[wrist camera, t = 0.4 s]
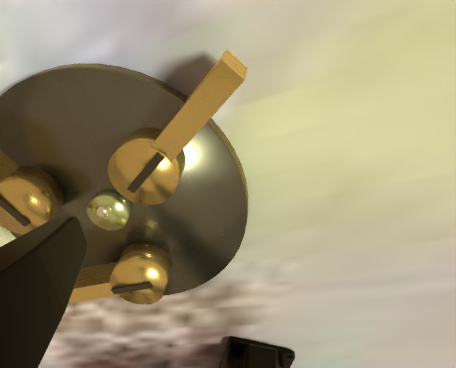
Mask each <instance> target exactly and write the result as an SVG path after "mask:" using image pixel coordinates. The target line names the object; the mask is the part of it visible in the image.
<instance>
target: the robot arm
mask: <svg viewBox="0 0 456 368" xmlns="http://www.w3.org/2000/svg"><path fill="white" fill-rule="evenodd" d="M87 247H88V245H87V240H86V238H85V235H84V232H83V229H82V227H81V224H80V221H79V219H78V218H77V217H75V216H57V217H55V218H53V219H52V220H50V221H48V222H46V223H44V224H42V225H40V226H39V227H37V228H35V229H33V230H31V231H29V232H27V233H26V234H24V235H22V236H20V237H18V238H16V239H15V240H13V241H11V242H9V243H7V244H5V245H3V246H2V247H0V368H38V366H39V364H40V362H41V360H42V358H43V356H44V354H45V352H46V350H47V348H48V346H49V344H50V341H51V339H52V337H53V335H54V333H55V331H56V329H57V327H58V325H59V323H60V321H61V319H62V317H63V314H64V312H65V310H66V307H67V305H68V302H69V300H70V297H71V294H72V292H73V289H74V286H75V283H76V281H77V278H78V275H79V272H80V270H81V267H82V264H83V261H84V259H85V256H86V253H87ZM294 359H295V352H294V351H292V350H288V349H284V348H279V347H274V346H269V345H265V344H260V343H255V342H251V341H246V340H241V339H237V338H229V339H228V342H227V345H226V348H225V351H224V355H223V358H222V361H221V364H220V368H290V366H291V364H292V362H293V360H294Z"/></svg>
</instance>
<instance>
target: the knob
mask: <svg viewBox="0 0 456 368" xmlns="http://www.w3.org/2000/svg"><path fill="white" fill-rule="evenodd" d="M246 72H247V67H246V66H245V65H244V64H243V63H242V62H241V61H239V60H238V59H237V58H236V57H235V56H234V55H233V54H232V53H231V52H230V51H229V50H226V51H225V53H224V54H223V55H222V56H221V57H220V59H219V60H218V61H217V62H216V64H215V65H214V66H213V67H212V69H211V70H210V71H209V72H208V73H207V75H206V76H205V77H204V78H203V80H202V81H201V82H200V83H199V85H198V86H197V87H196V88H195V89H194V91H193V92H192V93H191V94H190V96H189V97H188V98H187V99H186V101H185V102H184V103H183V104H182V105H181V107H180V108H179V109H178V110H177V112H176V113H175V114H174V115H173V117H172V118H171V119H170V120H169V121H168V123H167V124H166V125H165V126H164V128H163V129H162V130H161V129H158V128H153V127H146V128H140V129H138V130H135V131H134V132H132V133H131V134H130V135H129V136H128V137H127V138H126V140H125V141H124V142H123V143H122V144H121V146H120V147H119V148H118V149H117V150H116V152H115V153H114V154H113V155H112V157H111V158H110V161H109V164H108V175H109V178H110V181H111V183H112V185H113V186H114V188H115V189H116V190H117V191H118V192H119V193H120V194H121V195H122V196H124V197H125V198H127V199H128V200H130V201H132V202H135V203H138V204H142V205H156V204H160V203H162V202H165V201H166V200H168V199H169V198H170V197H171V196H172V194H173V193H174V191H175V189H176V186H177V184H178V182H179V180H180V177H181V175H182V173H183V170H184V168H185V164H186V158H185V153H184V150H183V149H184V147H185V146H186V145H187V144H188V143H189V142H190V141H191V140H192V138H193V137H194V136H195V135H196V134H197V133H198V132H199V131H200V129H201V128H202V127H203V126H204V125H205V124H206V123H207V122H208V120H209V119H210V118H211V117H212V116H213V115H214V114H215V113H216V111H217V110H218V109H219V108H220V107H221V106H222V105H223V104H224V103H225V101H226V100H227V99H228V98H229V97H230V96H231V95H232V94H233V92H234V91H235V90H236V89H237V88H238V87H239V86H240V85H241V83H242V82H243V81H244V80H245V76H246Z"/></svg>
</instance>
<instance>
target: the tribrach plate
mask: <svg viewBox="0 0 456 368" xmlns="http://www.w3.org/2000/svg"><path fill="white" fill-rule="evenodd" d="M186 99H187V97H186V96H184V95H183V94H182V93H180V92H179V91H177V90H175V89H174V88H172V87H170V86H168V85H166V84H165V83H163V82H161V81H159V80H157V79H154V78H152V77H150V76H147V75H145V74H142V73H140V72H136V71H133V70H129V69H126V68H122V67H118V66H111V65H104V64H72V65H65V66H59V67H55V68H52V69H49V70H46V71H42V72H40V73H38V74H36V75H34V76H32V77H30V78H28V79H26V80H24V81H22V82H20V83H18V84H16V85H15V86H13V87H12V88H11V89H9V90H8V91H7V92H5V93H4V94H3V95H2V96H1V97H0V150H1V151H3V152H4V153H5V154H6V155H7V156H8V157H9V158H10V159H11V160H12V161H13V162H14V163H16V164H17V165H18V166H32V167H36V168H38V169H41V170H43V171H44V172H46V173H48V174H49V175H50V176H51V177H53V178H54V179H55V180H56V182H57V183H58V184H59V186H60V187H61V190H62V192H63V198H64V200H63V204H62V206H61V207H60V208H59V210H58V211H57V212H56V213H55V214H54V215H53V217H52V218H51V219H50V220H52V219H53V218H55V217H57V216H75V217H77V218H78V219H79V221H80V224H81V227H82V229H83V232H84V235H85V238H86V240H87V245H88V247H87V253H86V256H85V259H84V261H83V264H82V267H81V268H86V267H91V266H96V265H101V264H107V263H112V262H117V261H119V259H120V257H121V255H122V253H123V251H124V249H125V248H126V247H127V246H129V245H131V244H134V243H149V244H153V245H155V246H157V247H159V248H161V249H162V250H164V251H165V252H166V253H167V254H168V255H169V257H170V258H171V261H172V271H171V274H170V277H169V280H168V283H167V285H166V288H165V291H164V294H163V295H170V294H175V293H180V292H184V291H187V290H189V289H192V288H195V287H197V286H199V285H201V284H203V283H206V282H207V281H209V280H210V279H212V278H213V277H215V276H216V275H217V274H219V273H220V272H221V271H222V270H223V269H224V268H225V267H226V266H227V265H228V264H229V262H230V261H231V260H232V259H233V258H234V256H235V254H236V252H237V251H238V249H239V247H240V245H241V242H242V239H243V237H244V234H245V228H246V223H247V215H248V191H247V184H246V179H245V175H244V172H243V169H242V166H241V163H240V161H239V159H238V157H237V155H236V152H235V150H234V148H233V147H232V145H231V144H230V142H229V141H228V139H227V137H226V136H225V134H224V133H223V132H222V131H221V129H220V128H219V127H218V126H217V125H216V123H215V122H214V121H213V120H212V119H211V118H210V119H209V120H208V122H207V123H206V124H205V125H204V126H203V127H202V128H201V129H200V131H199V132H198V133H197V134H196V135H195V136H194V137H193V138H192V140H191V141H190V142H189V143H188V144H187V145H186V146H185V147H184V149H183V150H184V153H185V158H186V164H185V168H184V170H183V173H182V175H181V177H180V180H179V182H178V184H177V186H176V189H175V191H174V193H173V194H172V196H171V197H170V198H169V199H168V200H166V201H165V202H162V203H160V204H156V205H142V204H138V203H135V202H132V201H130V200H128V199H127V198H125V197H124V196H122V195H121V194H120V193H119V192H118V191H117V190H116V189H115V188H114V186H113V185H112V183H111V181H110V178H109V175H108V164H109V161H110V158H111V157H112V155H113V154H114V153H115V152H116V150H117V149H118V148H119V147H120V146H121V144H122V143H123V142H124V141H125V140H126V138H127V137H128V136H129V135H130V134H131V133H132V132H134V131H135V130H138V129H140V128H146V127H153V128H158V129H161V130H162V129H163V128H164V126H165V125H166V124H167V123H168V121H169V120H170V119H171V118H172V117H173V115H174V114H175V113H176V112H177V110H178V109H179V108H180V107H181V105H182V104H183V103H184V102H185V101H186ZM50 220H49V221H50ZM10 232H11V231H10ZM11 233H12V234H13V235H14V236H15V237H16V238H18V237H20V236H22V234H17V233H14V232H11Z"/></svg>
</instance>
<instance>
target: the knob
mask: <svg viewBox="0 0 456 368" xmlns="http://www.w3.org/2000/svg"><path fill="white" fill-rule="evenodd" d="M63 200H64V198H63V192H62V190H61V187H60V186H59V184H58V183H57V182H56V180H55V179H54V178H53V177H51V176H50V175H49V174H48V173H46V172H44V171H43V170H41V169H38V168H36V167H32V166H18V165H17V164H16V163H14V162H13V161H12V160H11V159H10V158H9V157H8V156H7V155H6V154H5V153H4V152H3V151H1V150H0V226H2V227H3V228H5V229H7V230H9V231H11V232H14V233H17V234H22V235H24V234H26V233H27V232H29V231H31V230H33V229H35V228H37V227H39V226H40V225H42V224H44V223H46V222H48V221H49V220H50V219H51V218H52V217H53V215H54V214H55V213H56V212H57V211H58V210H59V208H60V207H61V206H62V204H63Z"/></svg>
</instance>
